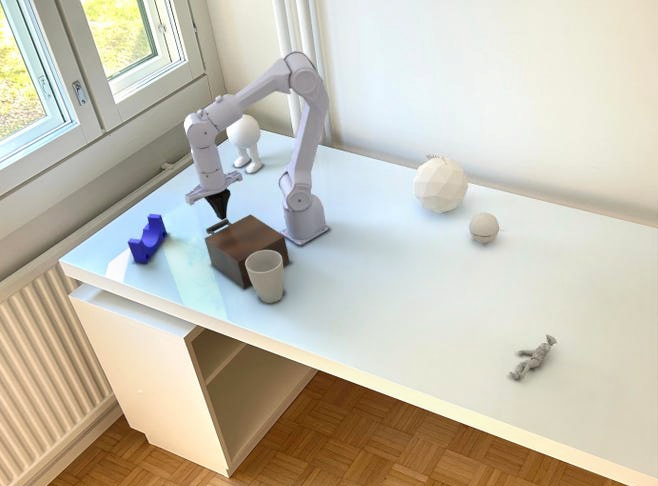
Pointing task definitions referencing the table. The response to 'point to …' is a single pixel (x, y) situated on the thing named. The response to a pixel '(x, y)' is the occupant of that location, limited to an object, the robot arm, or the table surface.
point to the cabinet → (243, 247)
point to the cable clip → (148, 239)
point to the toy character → (246, 141)
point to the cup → (266, 274)
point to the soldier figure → (534, 357)
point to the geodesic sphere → (440, 184)
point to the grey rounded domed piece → (484, 227)
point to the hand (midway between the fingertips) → (222, 217)
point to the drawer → (218, 226)
